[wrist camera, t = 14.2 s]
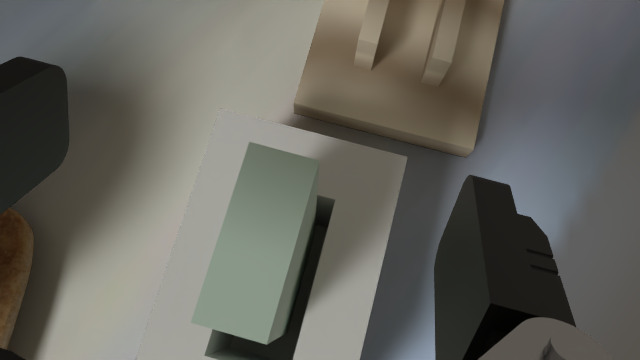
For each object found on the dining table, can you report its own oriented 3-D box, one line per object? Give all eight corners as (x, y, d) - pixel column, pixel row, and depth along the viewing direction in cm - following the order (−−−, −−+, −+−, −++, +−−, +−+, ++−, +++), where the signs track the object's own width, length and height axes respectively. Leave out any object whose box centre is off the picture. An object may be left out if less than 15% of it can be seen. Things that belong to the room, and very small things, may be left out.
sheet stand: (326, 427, 27) (333, 469, 19) (172, 383, 28) (119, 407, 20) (382, 198, 30) (407, 156, 22) (242, 162, 31) (219, 107, 23)
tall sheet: (287, 332, 27) (266, 344, 14) (248, 321, 27) (190, 322, 14) (314, 236, 29) (319, 160, 15) (277, 226, 29) (249, 141, 15)
